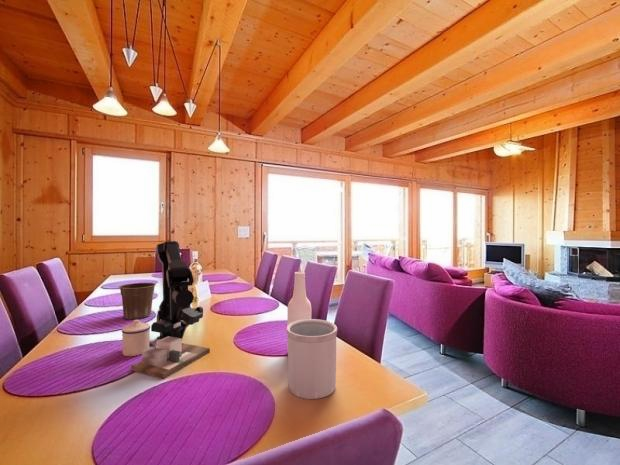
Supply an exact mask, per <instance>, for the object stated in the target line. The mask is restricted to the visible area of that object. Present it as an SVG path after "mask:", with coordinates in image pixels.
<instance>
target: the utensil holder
mask: <svg viewBox="0 0 620 465" xmlns="http://www.w3.org/2000/svg"><path fill="white" fill-rule="evenodd" d="M286 335H288V352H287V370H288V371H287V372H288V374H287V375H288V388H289V391H290V392H291V393H292V394H293V395H295V396H296V397H299V398H302V399H306V400H317V399H323V398H325V397H328V396H330V395H331V394H333V392H334V391H335V389H336V382H337V381H336V380H337V379H336V377H337V376H336V375H337V335H338V327H337V325H336V324H335V323H333V322H331V321H328V320H324V319H319V318H318V319H315V318H311V319H305V320H298V321H295V322H292V323H290V324H289V325H288V326H286Z"/></svg>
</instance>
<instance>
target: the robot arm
mask: <svg viewBox="0 0 620 465" xmlns="http://www.w3.org/2000/svg"><path fill="white" fill-rule="evenodd" d="M155 255H157V259H158V261H159V263H160V264H161V269H162V270H161V272H162V276H161V277H162V301H161V302H160V304H159V306H158V307H159V308H158V310H157V314H156V321H154V322H152V323H151V325H150V331H151V332H154V333H159V335H158V336H157V337H156V340H161V339H163V338H166V337H168V336H170V337H176V338H181V339H182V340H183V338H184V334H185V332H186V331H187V328H188V327H189V326H192V325H194V324H196V323H199V322H200V319H202V318H203V317H204V307H202V306H197V307H194V308H192V307H191V304H192V303H193V302H194V298H195V297H194V293H193V292H192V291H191V290H190V289H189V287H190V286H193V283H194V275H193V271H192V270H191V268H189V265H188V263H187V262H185V261H183V259H182V256H181V254H180V243H179V242H178V241H176V240H166V241H163V242H162V243H158V244H157V245H156V246H155Z"/></svg>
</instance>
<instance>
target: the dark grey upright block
mask: <svg viewBox="0 0 620 465" xmlns="http://www.w3.org/2000/svg"><path fill="white" fill-rule="evenodd" d="M169 361H172V362H178V361H179V351H174V350H172V351H170V352H169Z"/></svg>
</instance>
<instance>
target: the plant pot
mask: <svg viewBox="0 0 620 465" xmlns="http://www.w3.org/2000/svg"><path fill="white" fill-rule="evenodd" d="M155 286H156V283H154V282H135V283H134V282H133V283H127V284H126V283H125V284H121V285H119V286H118V288H119V289H120V295H121V300H122V313H123V314H122V315H123V318H124V319H125V318H126V320H136V319H139V318H140V319H144V318H143V317H145V318H147V317H146V316H148V317H150V316H152V307H153V298H154V297H153V296H154V292H155ZM149 315H150V316H149Z"/></svg>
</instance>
